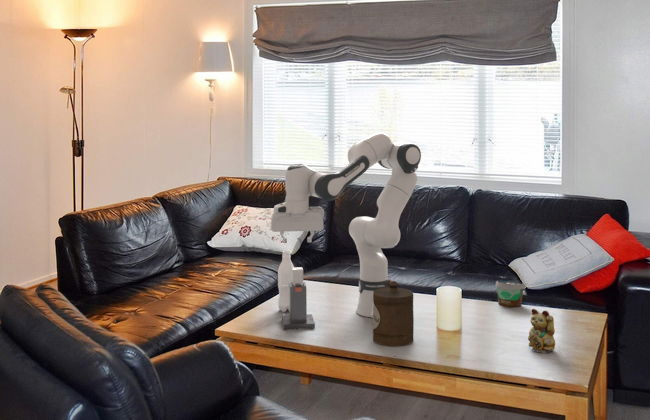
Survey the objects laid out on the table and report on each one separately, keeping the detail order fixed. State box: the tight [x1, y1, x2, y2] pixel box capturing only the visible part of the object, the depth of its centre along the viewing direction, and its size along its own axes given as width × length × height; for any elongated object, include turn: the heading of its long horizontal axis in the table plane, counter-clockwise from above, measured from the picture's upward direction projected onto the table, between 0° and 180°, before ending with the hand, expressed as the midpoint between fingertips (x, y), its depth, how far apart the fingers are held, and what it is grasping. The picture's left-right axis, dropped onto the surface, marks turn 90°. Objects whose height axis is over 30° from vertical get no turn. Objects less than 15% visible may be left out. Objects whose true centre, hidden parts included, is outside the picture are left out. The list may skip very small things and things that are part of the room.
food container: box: [495, 280, 526, 309], centre depth 332 cm, size 12×6×10 cm, turn 68°
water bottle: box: [277, 250, 295, 313], centre depth 325 cm, size 7×7×25 cm
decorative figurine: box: [527, 308, 556, 354], centre depth 278 cm, size 10×8×15 cm
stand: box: [281, 281, 316, 331], centre depth 307 cm, size 12×12×17 cm
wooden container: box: [372, 280, 415, 347], centre depth 288 cm, size 15×15×22 cm
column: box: [292, 266, 304, 286], centre depth 307 cm, size 4×4×20 cm
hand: (297, 242), depth 303 cm, fingers open, 8 cm apart
